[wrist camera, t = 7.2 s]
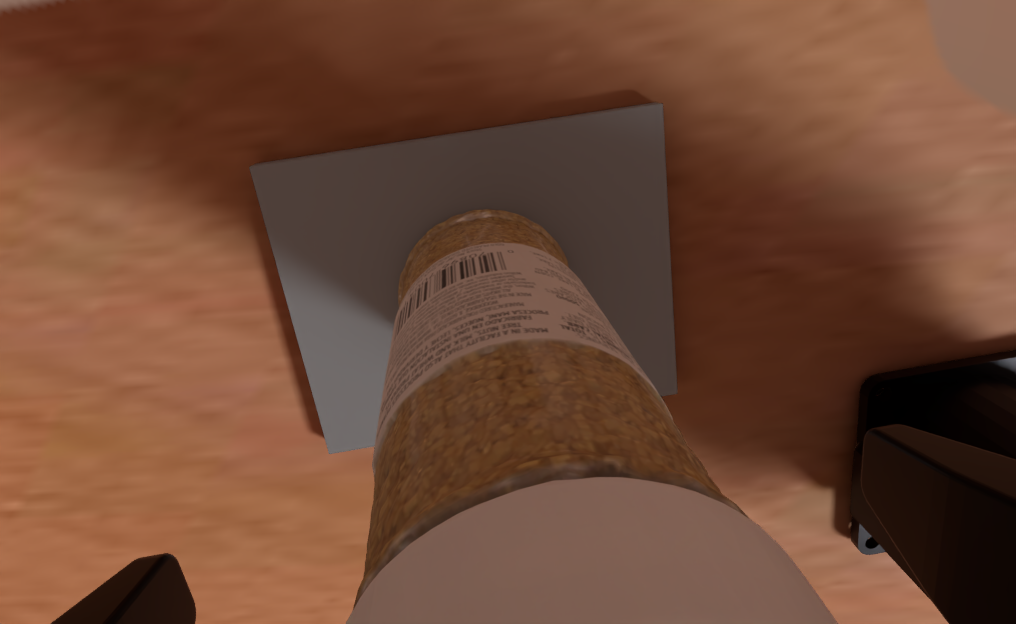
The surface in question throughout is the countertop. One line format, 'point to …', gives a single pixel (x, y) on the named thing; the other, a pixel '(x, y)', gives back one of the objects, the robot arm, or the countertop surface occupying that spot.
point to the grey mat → (456, 190)
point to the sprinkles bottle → (543, 461)
